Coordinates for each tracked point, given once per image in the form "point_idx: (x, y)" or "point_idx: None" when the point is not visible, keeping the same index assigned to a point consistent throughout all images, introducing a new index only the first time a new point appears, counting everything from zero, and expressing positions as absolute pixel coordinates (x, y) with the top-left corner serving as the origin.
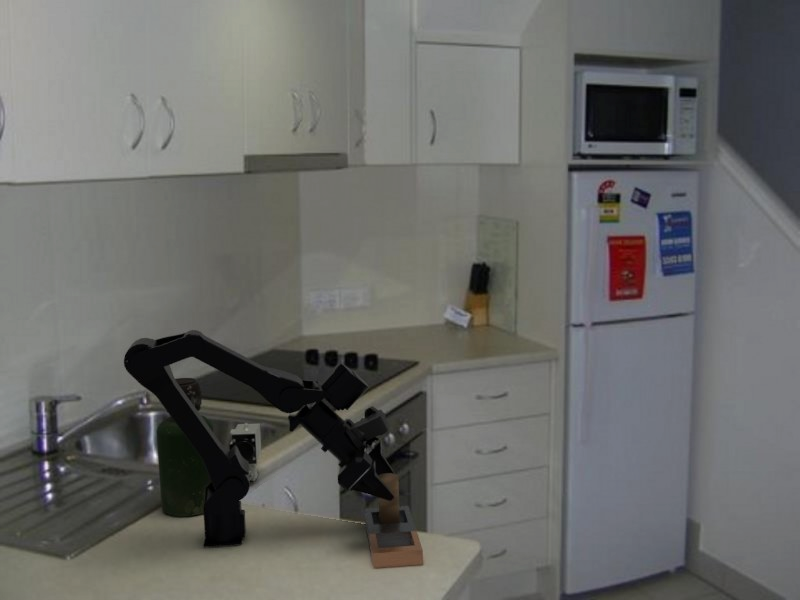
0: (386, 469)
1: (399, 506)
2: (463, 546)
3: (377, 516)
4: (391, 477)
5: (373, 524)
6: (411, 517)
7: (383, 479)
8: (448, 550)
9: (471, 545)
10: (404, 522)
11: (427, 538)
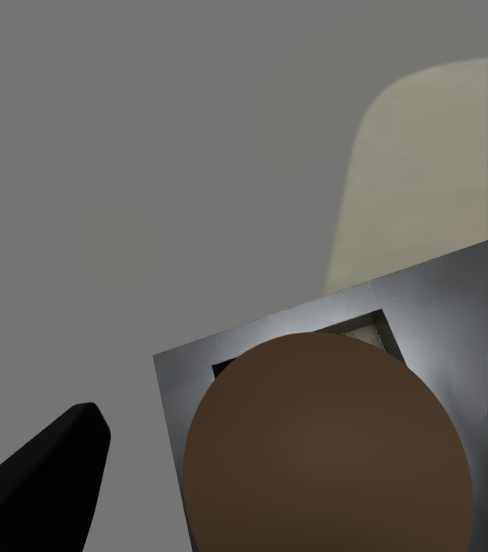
0: (13, 548)
1: (164, 402)
2: (423, 100)
3: None
4: (348, 414)
5: None
6: (308, 306)
7: (461, 525)
8: (480, 137)
9: (405, 80)
10: None
11: (377, 240)
